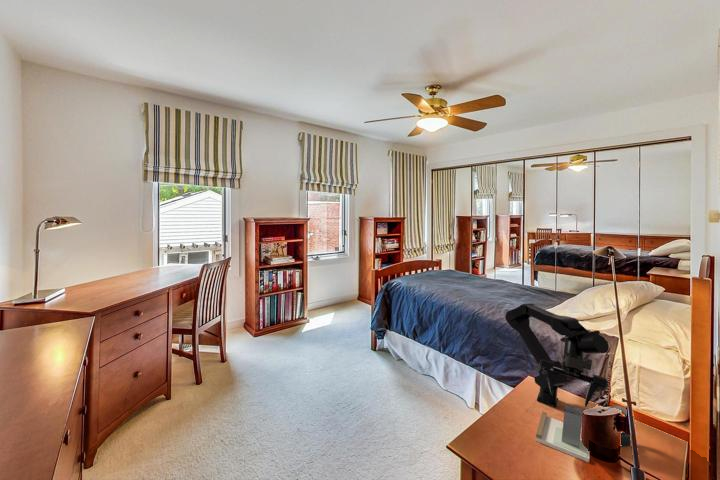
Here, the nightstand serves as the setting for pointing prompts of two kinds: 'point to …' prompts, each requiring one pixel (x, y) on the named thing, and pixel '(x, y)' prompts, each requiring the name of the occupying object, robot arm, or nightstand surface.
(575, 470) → the nightstand surface
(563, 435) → the block
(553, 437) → the door panel
